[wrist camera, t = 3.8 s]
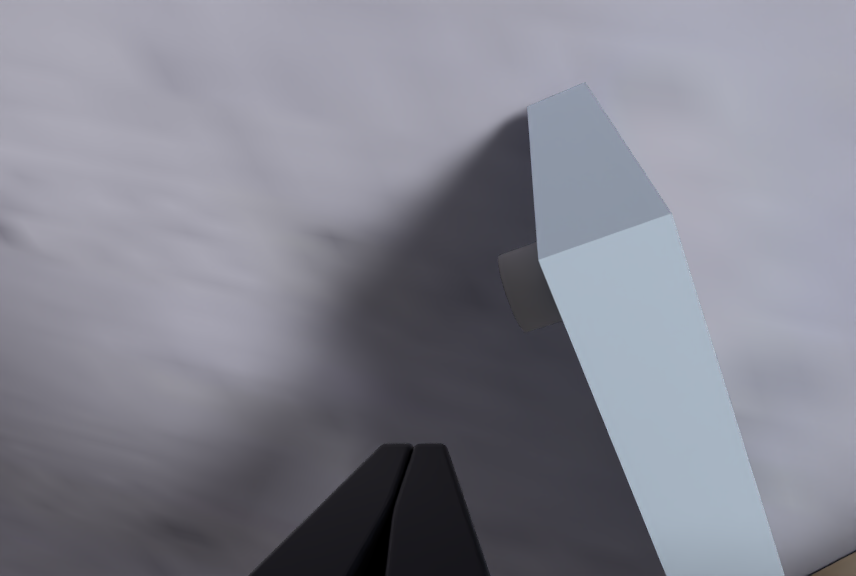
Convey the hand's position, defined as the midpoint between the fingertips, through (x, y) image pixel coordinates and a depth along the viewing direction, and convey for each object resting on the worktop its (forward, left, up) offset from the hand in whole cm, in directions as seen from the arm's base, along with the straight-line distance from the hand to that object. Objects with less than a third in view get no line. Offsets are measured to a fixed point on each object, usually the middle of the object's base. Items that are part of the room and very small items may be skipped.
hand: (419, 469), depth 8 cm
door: (-1, +4, -5) cm, 6 cm away
